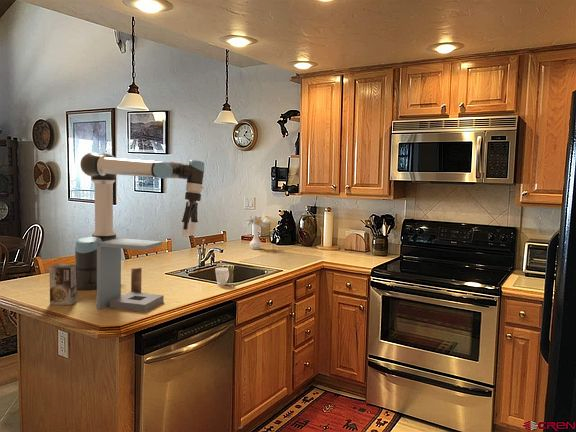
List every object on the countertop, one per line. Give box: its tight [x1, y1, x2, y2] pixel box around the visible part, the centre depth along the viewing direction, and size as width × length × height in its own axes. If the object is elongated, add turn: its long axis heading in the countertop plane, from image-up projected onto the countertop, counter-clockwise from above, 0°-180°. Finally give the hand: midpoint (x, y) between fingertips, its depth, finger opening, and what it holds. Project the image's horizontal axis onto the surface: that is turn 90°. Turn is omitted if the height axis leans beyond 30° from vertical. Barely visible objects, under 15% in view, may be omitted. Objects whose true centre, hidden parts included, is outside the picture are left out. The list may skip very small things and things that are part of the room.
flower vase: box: [246, 215, 269, 250], centre depth 362 cm, size 13×18×25 cm
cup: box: [214, 267, 230, 286], centre depth 246 cm, size 7×10×8 cm
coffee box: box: [48, 263, 78, 306], centre depth 200 cm, size 9×6×16 cm
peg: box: [130, 266, 143, 293], centre depth 220 cm, size 4×4×12 cm
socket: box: [109, 291, 165, 313], centre depth 202 cm, size 16×16×3 cm
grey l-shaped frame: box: [96, 237, 163, 310], centre depth 198 cm, size 21×15×28 cm
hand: (188, 235), depth 230 cm, fingers open, 13 cm apart
